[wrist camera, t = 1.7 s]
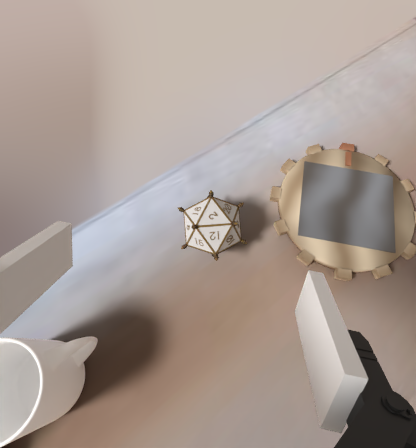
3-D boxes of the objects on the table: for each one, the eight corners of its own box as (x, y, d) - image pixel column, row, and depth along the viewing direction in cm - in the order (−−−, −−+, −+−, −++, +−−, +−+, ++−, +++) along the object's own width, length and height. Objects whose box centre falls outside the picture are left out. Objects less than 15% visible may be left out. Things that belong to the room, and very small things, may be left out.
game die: (204, 233, 47) (201, 171, 42) (256, 248, 43) (259, 182, 38) (168, 266, 40) (159, 197, 35) (225, 287, 36) (224, 213, 31)
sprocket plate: (413, 159, 48) (419, 154, 46) (423, 295, 40) (430, 294, 38) (278, 137, 49) (280, 131, 48) (261, 264, 41) (263, 261, 40)
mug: (126, 371, 36) (96, 380, 26) (29, 440, 33) (-45, 479, 23) (93, 309, 39) (55, 296, 29) (1, 368, 36) (-76, 377, 26)
